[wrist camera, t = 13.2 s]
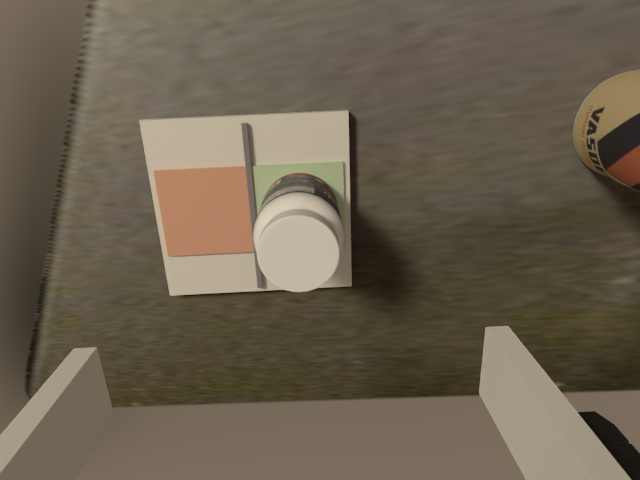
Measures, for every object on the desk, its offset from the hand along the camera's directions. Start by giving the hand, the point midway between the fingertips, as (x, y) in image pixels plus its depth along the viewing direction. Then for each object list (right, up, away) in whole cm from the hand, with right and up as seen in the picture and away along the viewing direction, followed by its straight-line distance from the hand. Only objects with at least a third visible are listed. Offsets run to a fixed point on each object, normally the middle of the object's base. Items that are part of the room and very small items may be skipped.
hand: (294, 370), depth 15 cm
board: (-4, +7, +20) cm, 22 cm away
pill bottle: (-1, +7, +19) cm, 20 cm away
